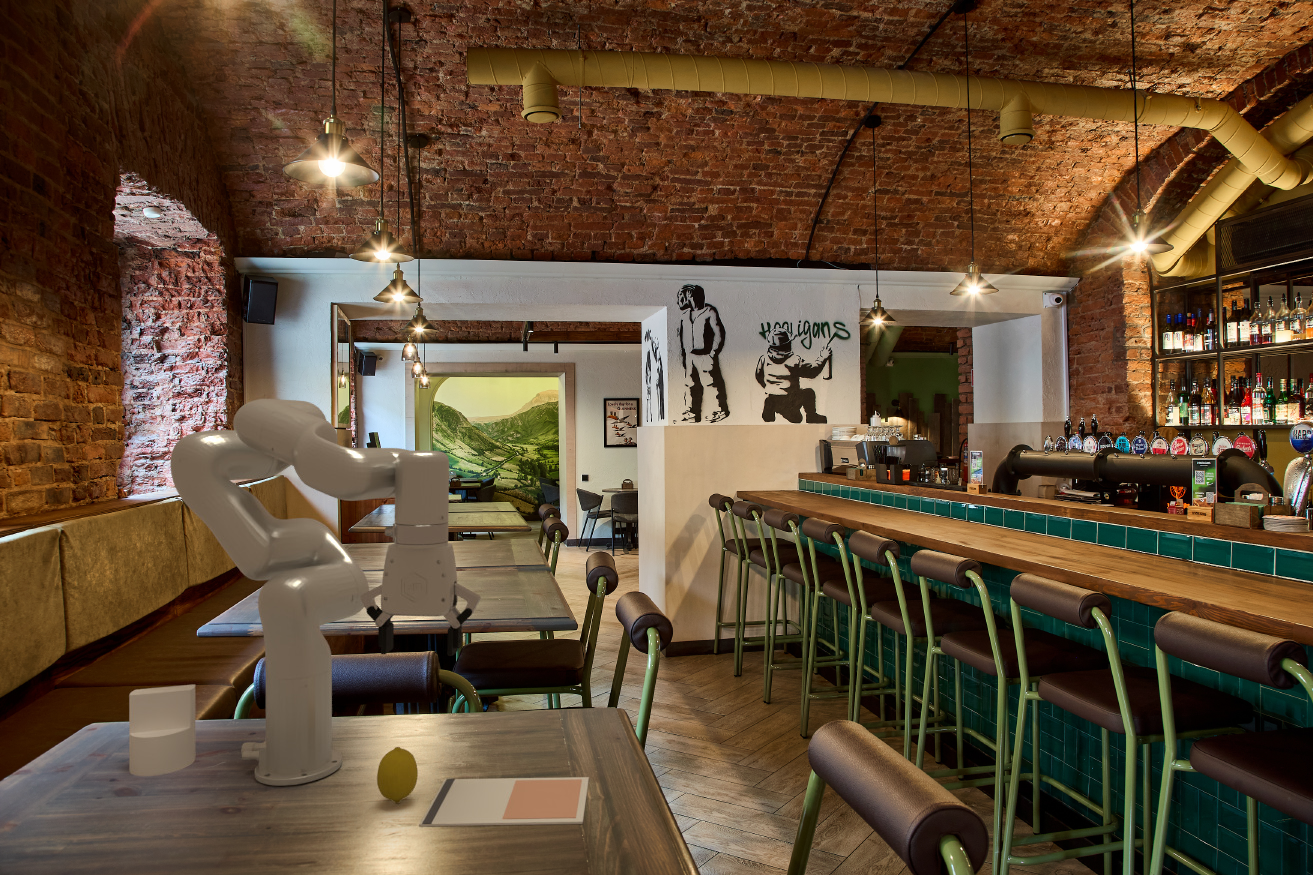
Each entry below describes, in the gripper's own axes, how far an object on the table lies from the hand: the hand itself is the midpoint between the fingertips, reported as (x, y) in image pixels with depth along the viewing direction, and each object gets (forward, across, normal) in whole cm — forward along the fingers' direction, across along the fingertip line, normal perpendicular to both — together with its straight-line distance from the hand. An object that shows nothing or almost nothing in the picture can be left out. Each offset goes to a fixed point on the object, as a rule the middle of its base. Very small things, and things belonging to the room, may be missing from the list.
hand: (419, 652), depth 114 cm
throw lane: (+21, +14, -1) cm, 25 cm away
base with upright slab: (+22, -45, +11) cm, 51 cm away
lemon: (+21, -2, -2) cm, 22 cm away
